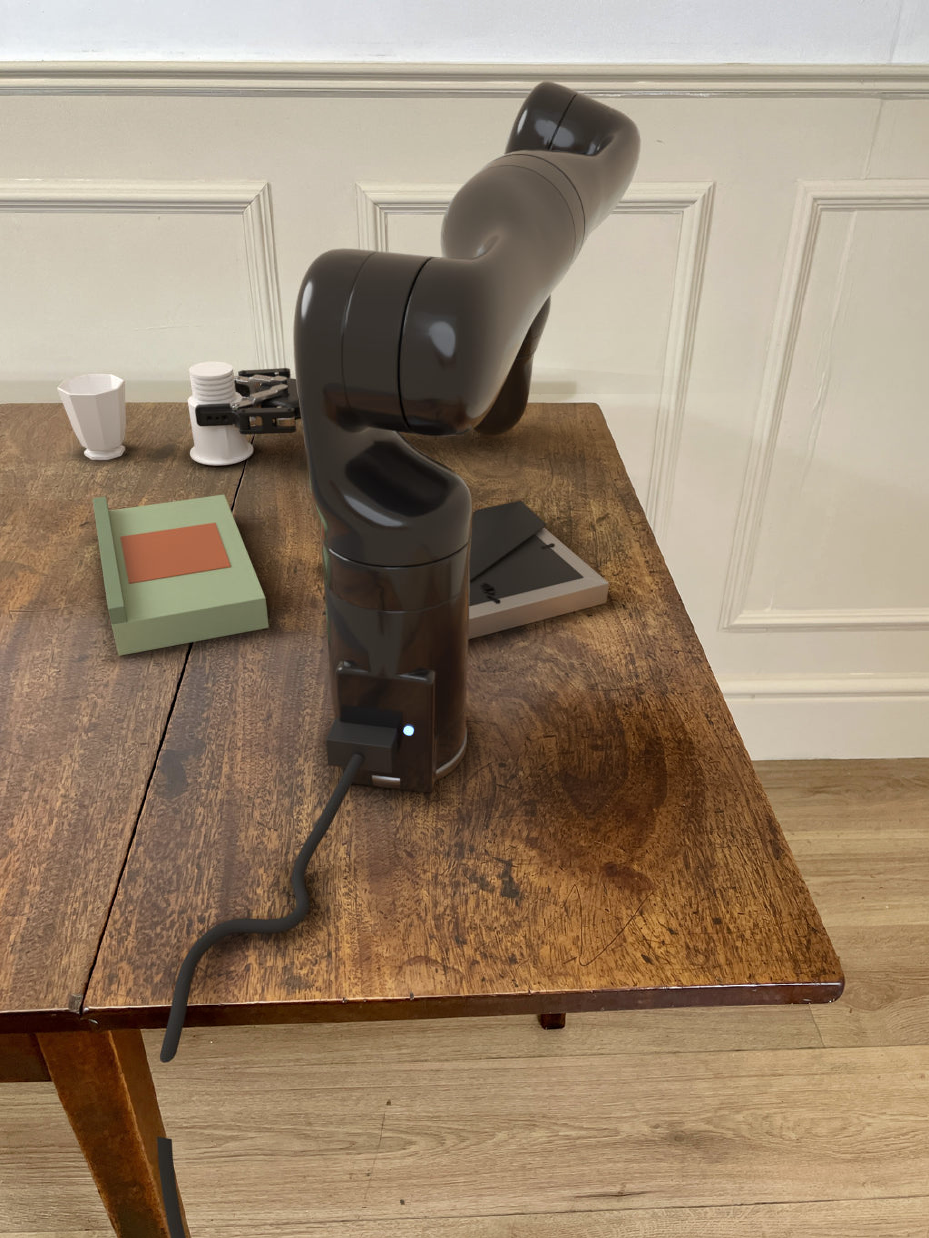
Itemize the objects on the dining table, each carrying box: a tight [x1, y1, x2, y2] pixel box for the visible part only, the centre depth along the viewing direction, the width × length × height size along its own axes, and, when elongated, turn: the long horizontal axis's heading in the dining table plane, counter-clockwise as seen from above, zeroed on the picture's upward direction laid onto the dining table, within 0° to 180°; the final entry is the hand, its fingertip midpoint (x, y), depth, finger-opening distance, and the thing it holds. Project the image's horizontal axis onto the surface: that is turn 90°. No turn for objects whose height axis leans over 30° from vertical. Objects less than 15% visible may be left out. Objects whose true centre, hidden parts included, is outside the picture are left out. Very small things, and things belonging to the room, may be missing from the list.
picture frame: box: [321, 500, 610, 640], centre depth 84 cm, size 16×3×21 cm
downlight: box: [187, 361, 254, 466], centre depth 104 cm, size 8×7×10 cm
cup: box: [56, 373, 127, 461], centre depth 106 cm, size 7×10×8 cm
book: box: [92, 494, 270, 657], centre depth 83 cm, size 12×20×4 cm, turn 21°
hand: (197, 403), depth 104 cm, fingers closed on downlight, 7 cm apart
